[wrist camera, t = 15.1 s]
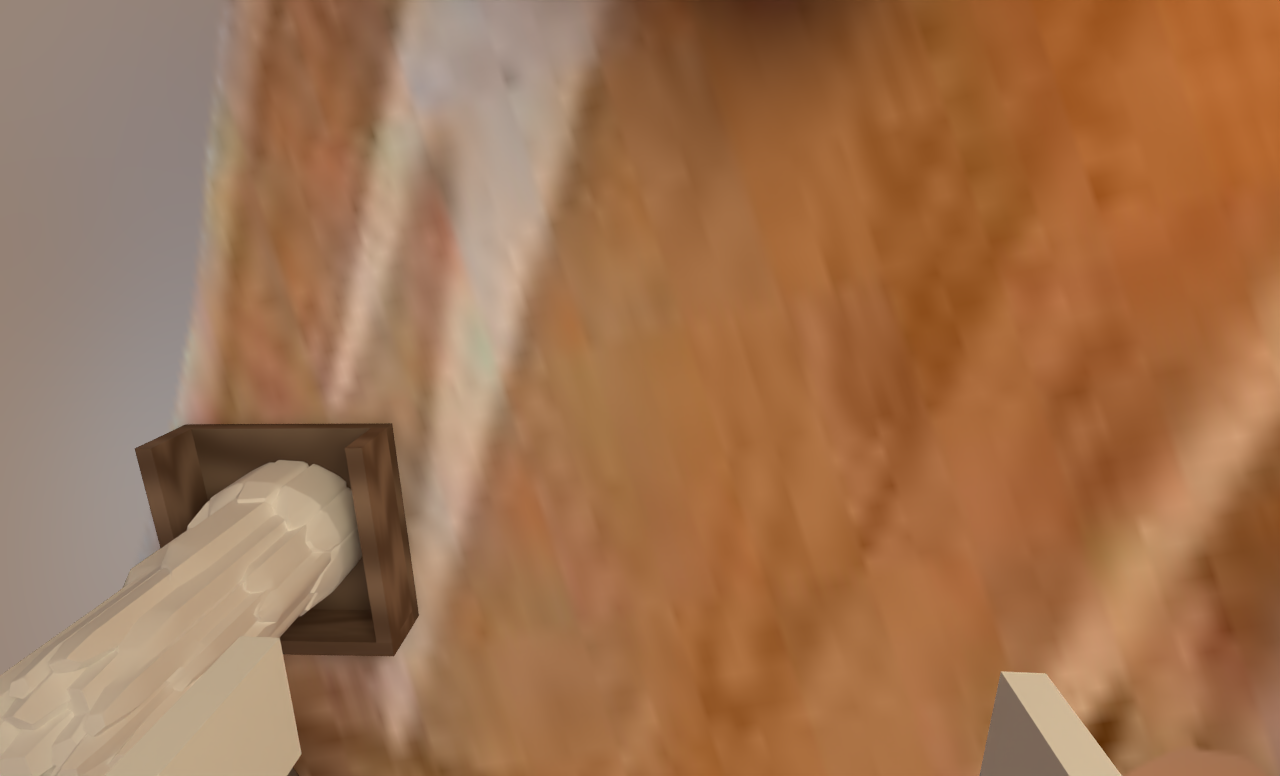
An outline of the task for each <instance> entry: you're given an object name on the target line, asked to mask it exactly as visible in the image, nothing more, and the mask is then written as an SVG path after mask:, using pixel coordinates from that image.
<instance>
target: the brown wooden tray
mask: <svg viewBox="0 0 1280 776" xmlns="http://www.w3.org/2000/svg"><path fill="white" fill-rule="evenodd" d="M135 451H136V456H137V459H138V463H139V467H140V471H141V474H142V479H143V482H144V486H145V490H146V494H147V498H148V501H149V505H150V509H151V513H152V517H153V521H154V525H155V528H156V532H157V536H158V540H159V544H160V548H162V547H164V546H165V545H166V544H168V543H169V542H171V541H172V540H174V539H175V538H177V537H178V536H179V535H181V534H182V533H184V532H185V531H187V526H188V525H189V523H190V522H191V521H192V520H193V519H194V517H195V516H196V515H197V514H198V512H199V511H200V510H201V509H202V508H203V506H204V505H205V504H206V503H207V502H208V501H210V498H211V497H213V496H214V495H216V494H217V493H219V492H220V491H222V490H223V489H225V488H226V487H228V486H229V485H231V484H232V483H234V482H235V481H237V480H238V479H240V478H241V477H243V476H244V475H246V474H248V473H249V472H251V471H253V470H254V469H256V468H258V467H260V466H263V465H265V464H267V463H269V462H273V463H275V462H276V461H278V460H288V461H303V462H305V463H307V464H308V465H309V467H310V466H311V465H312V464H316V465H319V466H321V467H323V468H325V469H327V470H329V471H331V472H333V473H335V474H336V475H338V476H340V477H341V478H342V479H343V480H344V481H346V484H347V488H350V489H351V490H352V496H353V502H354V508H355V514H356V520H357V526H358V533H359V539H360V545H361V551H362V558H361V559H360V560H359V561H358V563H357V565H356V566H355V567H354V568H353V569H352V570H351V571H350V573H349V574H348V575H347V576H346V577H345V578H344V580H343V581H342V582H341V583H340V584H339V585H338V587H337V588H336V589H335V590H334V591H333V592H332V593H331V594H329V595H328V596H327V597H326V598H324V599H323V600H322V601H320V602H319V603H318V604H316V605H315V606H314V607H312V608H311V609H310V610H309V611H307V612H306V613H305V614H304V615H302V616H298V618H297V619H296V620H295V621H294V622H293V623H292V624H291V625H290V627H289V628H288V629H287V630H286V631H285V632H284V633H283V634H282V635H281V637H280V642H281V647H282V653H283V654H295V655H353V656H394V655H395V654H396V652H397V650H398V649H399V647H400V646H401V644H402V642H403V641H404V639H405V637H406V636H407V634H408V632H409V631H410V629H411V628H412V626H413V624H414V623H415V621H416V619H417V618H418V616H419V614H418V607H417V599H416V592H415V585H414V578H413V571H412V564H411V557H410V549H409V542H408V535H407V528H406V521H405V514H404V506H403V499H402V492H401V485H400V478H399V471H398V464H397V456H396V449H395V442H394V435H393V428H392V424H197V425H184V426H182V427H179V428H177V429H175V430H173V431H171V432H169V433H167V434H165V435H163V436H160V437H158V438H156V439H154V440H152V441H150V442H148V443H146V444H144V445H141V446H139V447H137V448H135Z"/></svg>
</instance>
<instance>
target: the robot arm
mask: <svg viewBox="0 0 1280 776" xmlns="http://www.w3.org/2000/svg"><path fill="white" fill-rule="evenodd" d="M300 755H301V749H300V743H299V738H298V733H297V727H296V722H295V717H294V711H293V706H292V701H291V695H290V690H289V685H288V679H287V674H286V669H285V663H284V658H283V653H282V647H281V642H280V638H271V637H249V636H240V637H239V638H238V639H237V640H236V641H235V642H234V643H233V644H232V645H231V646H230V647H229V648H228V649H227V650H226V651H225V652H224V653H223V654H222V655H221V656H220V657H219V658H218V659H217V661H216V662H215V663H214V664H213V665H212V666H211V667H210V668H209V669H208V670H207V671H206V672H205V673H204V674H203V675H202V676H201V677H200V678H199V679H198V680H197V681H196V682H195V683H194V684H193V685H192V686H191V687H190V688H189V689H188V690H187V691H186V692H185V693H184V694H183V695H182V696H181V698H180V699H179V700H178V701H177V702H176V703H175V704H174V705H173V706H172V707H171V708H170V709H169V710H168V711H167V712H166V713H165V714H164V715H163V716H162V717H161V718H160V719H159V720H158V721H157V722H156V723H155V724H154V725H153V726H152V727H151V728H150V729H149V730H148V731H147V732H146V733H145V734H144V736H143V737H142V738H141V739H140V740H139V741H138V742H137V743H136V744H135V745H134V746H133V747H132V748H131V749H130V750H129V751H128V752H127V753H126V754H125V755H124V756H123V757H122V758H121V759H120V760H119V761H118V762H117V763H116V764H115V765H114V766H113V767H112V768H111V769H110V770H109V771H108V773H107V774H106V775H105V776H287V775H288V774H289V772H290V771H291V769H292V767H293V766H294V764H295V763H296V761H297V760H298V758H299V757H300ZM980 776H1122V775H1121V774H1120V773H1119V771H1118V770H1117V769H1116V767H1115V766H1114V765H1113V763H1112V762H1111V761H1110V759H1109V758H1108V756H1107V755H1106V754H1105V752H1104V751H1103V750H1102V748H1101V747H1100V746H1099V744H1098V743H1097V742H1096V740H1095V739H1094V738H1093V736H1092V735H1091V734H1090V732H1089V731H1088V730H1087V728H1086V727H1085V725H1084V724H1083V723H1082V721H1081V720H1080V719H1079V717H1078V716H1077V715H1076V713H1075V712H1074V711H1073V709H1072V708H1071V707H1070V705H1069V704H1068V703H1067V701H1066V700H1065V699H1064V697H1063V696H1062V694H1061V693H1060V692H1059V690H1058V689H1057V688H1056V686H1055V685H1054V684H1053V682H1052V681H1051V680H1050V678H1049V677H1048V676H1047V674H1044V673H1023V672H1001V674H1000V679H999V684H998V689H997V694H996V698H995V703H994V708H993V713H992V718H991V723H990V728H989V732H988V737H987V742H986V747H985V752H984V757H983V761H982V766H981V771H980Z"/></svg>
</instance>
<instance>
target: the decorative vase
mask: <svg viewBox="0 0 1280 776" xmlns="http://www.w3.org/2000/svg"><path fill="white" fill-rule="evenodd" d="M361 558H362V551H361V545H360V539H359V533H358V526H357V520H356V514H355V508H354V502H353V496H352V490H351V489H350V488H347V484H346V481H344V480H343V479H342V478H341V477H340V476H338V475H336V474H335V473H333V472H331V471H329V470H327V469H325V468H323V467H321V466H319V465H316V464H312V465H311V466H310V467H309V465H308V464H307V463H305V462H303V461H288V460H278V461H276V462H275V463H273V462H269V463H267V464H265V465H263V466H260V467H258V468H256V469H254V470H253V471H251V472H249V473H248V474H246V475H244V476H243V477H241V478H240V479H238V480H237V481H235V482H234V483H232V484H231V485H229V486H228V487H226V488H225V489H223V490H222V491H220V492H219V493H217V494H216V495H214V496H213V497H211V498H210V501H208V502H207V503H206V504H205V505H204V506H203V508H202V509H201V510H200V511H199V512H198V514H197V515H196V516H195V517H194V519H193V520H192V521H191V522H190V523H189V525H188V526H187V531H185V532H184V533H182V534H181V535H179V536H178V537H177V538H175V539H174V540H172V541H171V542H169V543H168V544H166V545H165V546H164V547H162V548H161V549H159V550H158V551H156V552H155V553H153V554H152V555H151V556H149V557H148V558H146V559H145V560H143V561H142V562H140V563H139V564H138V565H136V566H135V567H133V568H132V569H131V570H130V572H129V574H128V577H127V579H126V581H125V584H124V586H123V588H122V589H121V590H120V591H118V592H117V593H116V594H114V595H113V596H111V597H110V598H109V599H107V600H106V601H105V602H103V603H102V604H100V605H99V606H98V607H96V608H95V609H93V610H92V611H90V612H89V613H88V614H86V615H85V616H83V617H82V618H81V619H79V620H78V621H76V622H75V623H74V624H72V625H71V626H69V627H68V628H67V629H65V630H64V631H62V632H61V633H59V634H58V635H57V636H55V637H54V638H52V639H51V640H49V641H48V642H47V643H45V644H44V645H42V646H41V647H40V648H38V649H37V650H35V651H34V652H33V653H31V654H30V655H28V656H27V657H26V658H24V659H23V660H21V661H20V662H18V663H17V664H16V665H14V666H13V667H12V668H10V669H9V670H7V671H6V672H5V673H3V674H2V675H0V776H105V775H106V774H107V773H108V771H109V770H110V769H111V768H112V767H113V766H114V765H115V764H116V763H117V762H118V761H119V760H120V759H121V758H122V757H123V756H124V755H125V754H126V753H127V752H128V751H129V750H130V749H131V748H132V747H133V746H134V745H135V744H136V743H137V742H138V741H139V740H140V739H141V738H142V737H143V736H144V734H145V733H146V732H147V731H148V730H149V729H150V728H151V727H152V726H153V725H154V724H155V723H156V722H157V721H158V720H159V719H160V718H161V717H162V716H163V715H164V714H165V713H166V712H167V711H168V710H169V709H170V708H171V707H172V706H173V705H174V704H175V703H176V702H177V701H178V700H179V699H180V698H181V696H182V695H183V694H184V693H185V692H186V691H187V690H188V689H189V688H190V687H191V686H192V685H193V684H194V683H195V682H196V681H197V680H198V679H199V678H200V677H201V676H202V675H203V674H204V673H205V672H206V671H207V670H208V669H209V668H210V667H211V666H212V665H213V664H214V663H215V662H216V661H217V659H218V658H219V657H220V656H221V655H222V654H223V653H224V652H225V651H226V650H227V649H228V648H229V647H230V646H231V645H232V644H233V643H234V642H235V641H236V640H237V639H238V638H239V637H240V636H249V637H271V638H280V637H281V635H282V634H283V633H284V632H285V631H286V630H287V629H288V628H289V627H290V625H291V624H292V623H293V622H294V621H295V620H296V619H297V618H298V616H302V615H304V614H305V613H306V612H307V611H309V610H310V609H311V608H312V607H314V606H315V605H316V604H318V603H319V602H320V601H322V600H323V599H324V598H326V597H327V596H328V595H329V594H331V593H332V592H333V591H334V590H335V589H336V588H337V587H338V585H339V584H340V583H341V582H342V581H343V580H344V578H345V577H346V576H347V575H348V574H349V573H350V571H351V570H352V569H353V568H354V567H355V566H356V565H357V563H358V561H359V560H360V559H361Z"/></svg>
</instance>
